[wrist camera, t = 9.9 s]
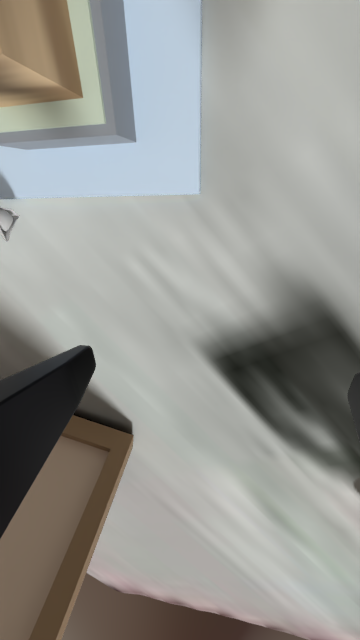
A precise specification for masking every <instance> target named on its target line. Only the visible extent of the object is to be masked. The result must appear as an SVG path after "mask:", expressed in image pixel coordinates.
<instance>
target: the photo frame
mask: <svg viewBox="0 0 360 640" xmlns="http://www.w3.org/2000/svg"><path fill="white" fill-rule="evenodd" d="M133 436H134V435H131V434H128V433H125V432H122V431H119V430H116V429H113V428H110V427H107V426H104V425H101V424H98V423H95V422H92V421H89V420H86V419H83V418H80V417H77V416H74V415H73V416H72V417H71V419H70V421H69V423H68V424H67V426H66V428H65V429H64V431H63V433H62V435H61V436H60V438H59V440H58V441H57V443H56V445H55V446H54V448H53V450H52V452H51V453H50V455H49V457H48V458H47V460H46V462H45V464H44V465H43V467H42V469H41V470H40V472H39V474H38V476H37V477H36V479H35V481H34V482H33V484H32V486H31V488H30V489H29V491H28V493H27V494H26V496H25V498H24V499H23V501H22V503H21V505H20V506H19V508H18V510H17V511H16V513H15V515H14V517H13V518H12V520H11V522H10V523H9V525H8V527H7V529H6V530H5V532H4V534H3V535H2V537H1V539H0V640H61V639H62V636H63V634H64V631H65V628H66V625H67V623H68V620H69V617H70V615H71V612H72V609H73V607H74V604H75V601H76V598H77V596H78V593H79V590H80V587H81V585H82V582H83V579H84V577H85V574H86V571H87V569H88V566H89V563H90V561H91V558H92V555H93V553H94V550H95V547H96V545H97V542H98V539H99V536H100V534H101V531H102V528H103V526H104V523H105V520H106V518H107V515H108V512H109V509H110V507H111V504H112V501H113V499H114V496H115V493H116V491H117V488H118V485H119V482H120V480H121V477H122V474H123V472H124V469H125V466H126V464H127V461H128V458H129V456H130V453H131V450H132V447H133Z"/></svg>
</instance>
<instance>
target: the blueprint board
mask: <svg viewBox="0 0 360 640" xmlns="http://www.w3.org/2000/svg"><path fill="white" fill-rule="evenodd" d="M123 2H124V13H125V24H126V34H127V45H128V56H129V67H130V77H131V88H132V99H133V110H134V121H135V131H136V142H135V143H120V144H106V145H91V146H76V147H61V148H47V149H32V150H25V149H18V148H12V147H5V146H0V199H21V198H62V197H102V196H142V195H182V194H200V180H201V67H202V0H123Z"/></svg>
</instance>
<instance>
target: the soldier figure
mask: <svg viewBox="0 0 360 640" xmlns="http://www.w3.org/2000/svg"><path fill="white" fill-rule="evenodd" d="M18 217H19V215H17V214H16V212H15V211H14V210H12V209H5V208H2V207H0V235H1V236H2V237H3V238H4V239H5V241H6V242H7V241H8V240H9V238H10V233H11V231H12V228H13V226H14V224H15V222H16V220H17V219H18Z"/></svg>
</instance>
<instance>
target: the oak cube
mask: <svg viewBox="0 0 360 640" xmlns="http://www.w3.org/2000/svg"><path fill="white" fill-rule="evenodd" d="M78 98H83V93H82V87H81V81H80V75H79V69H78V63H77V57H76V51H75V45H74V39H73V34H72V28H71V22H70V16H69V10H68V4H67V0H0V107H9V106H18V105H26V104H35V103H44V102H52V101H61V100H70V99H78Z"/></svg>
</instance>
